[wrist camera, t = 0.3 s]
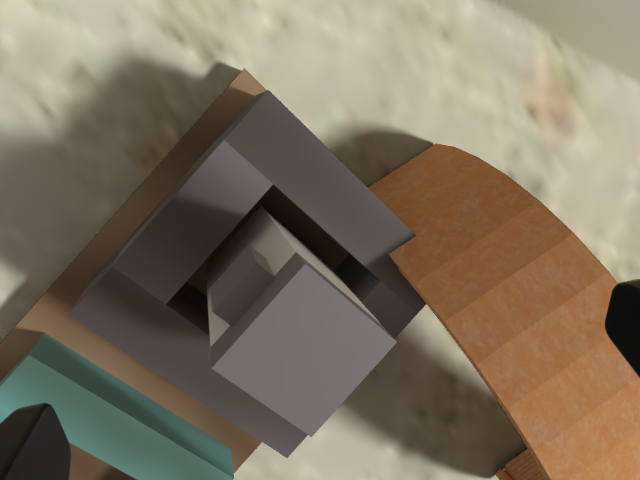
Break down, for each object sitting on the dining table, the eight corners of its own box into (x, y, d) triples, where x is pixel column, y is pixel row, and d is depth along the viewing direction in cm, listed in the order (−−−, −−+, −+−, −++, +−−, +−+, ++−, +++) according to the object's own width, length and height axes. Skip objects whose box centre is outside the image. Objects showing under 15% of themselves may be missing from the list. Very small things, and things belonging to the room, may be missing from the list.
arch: (497, 486, 29) (642, 662, 19) (337, 205, 23) (435, 261, 13) (575, 431, 29) (754, 576, 20) (439, 141, 23) (604, 150, 14)
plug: (267, 315, 22) (311, 437, 14) (192, 257, 21) (189, 353, 12) (320, 256, 22) (397, 341, 14) (248, 194, 21) (285, 246, 12)
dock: (108, 597, 25) (86, 710, 20) (-132, 492, 21) (-229, 602, 16) (423, 247, 24) (477, 278, 20) (242, 70, 20) (255, 55, 16)
